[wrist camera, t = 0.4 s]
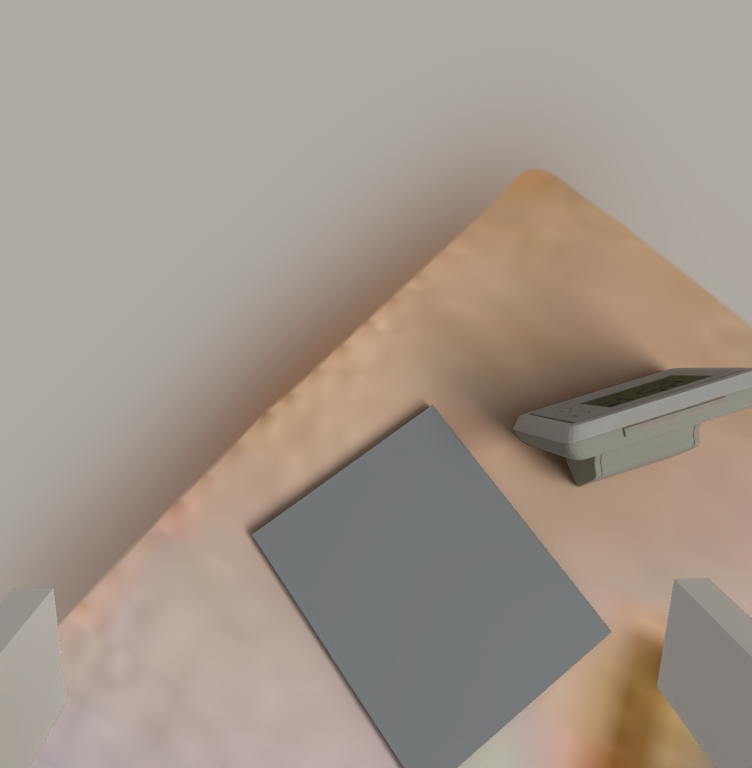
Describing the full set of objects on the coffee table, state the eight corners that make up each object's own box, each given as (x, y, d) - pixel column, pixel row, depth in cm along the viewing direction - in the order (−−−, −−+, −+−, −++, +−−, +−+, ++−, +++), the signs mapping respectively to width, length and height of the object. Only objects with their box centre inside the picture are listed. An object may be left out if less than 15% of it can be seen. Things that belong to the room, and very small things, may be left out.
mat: (607, 630, 45) (611, 631, 45) (422, 793, 42) (423, 797, 41) (431, 407, 51) (432, 404, 50) (253, 535, 47) (251, 534, 46)
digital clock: (684, 372, 52) (760, 323, 42) (712, 473, 49) (801, 447, 39) (502, 388, 51) (535, 343, 41) (521, 493, 49) (561, 471, 39)
